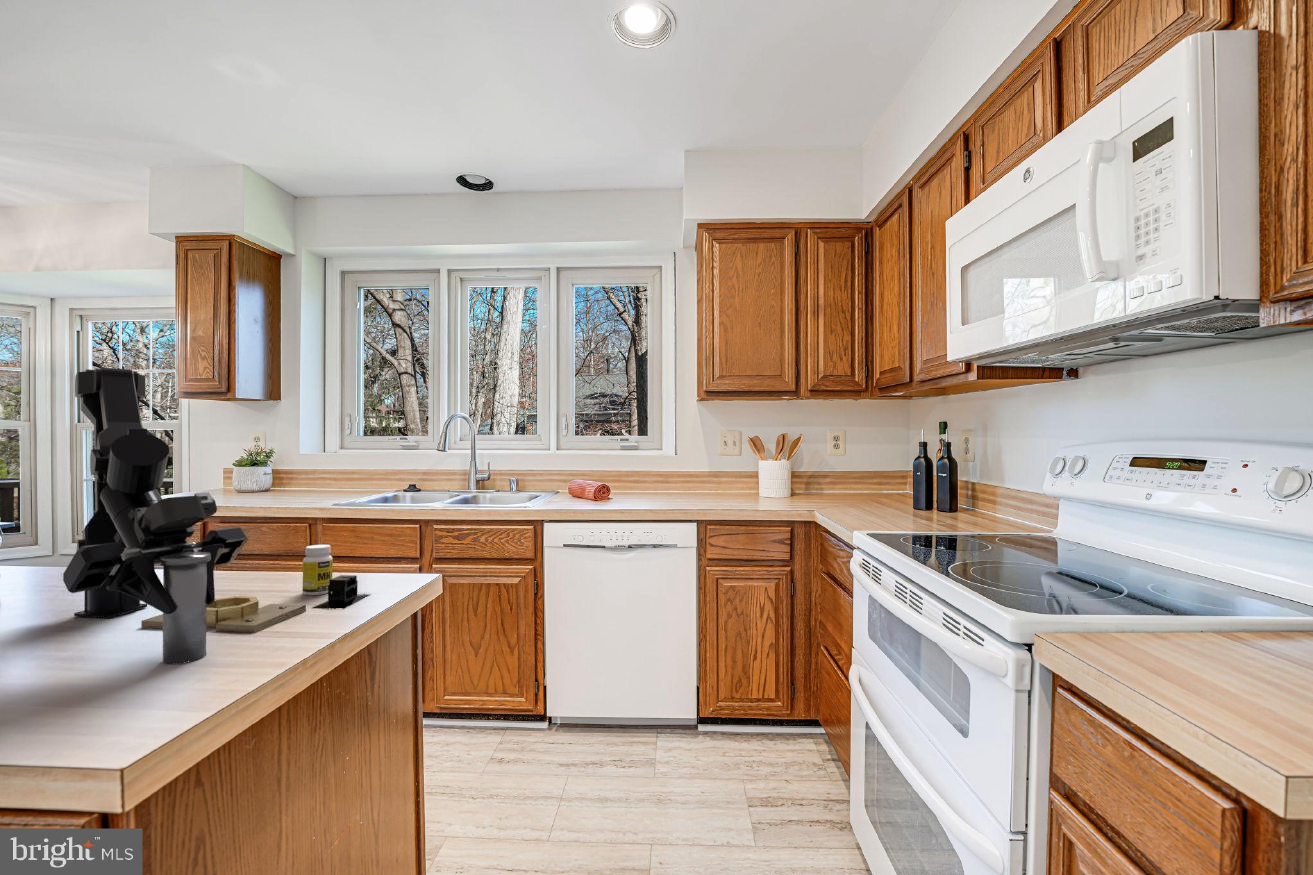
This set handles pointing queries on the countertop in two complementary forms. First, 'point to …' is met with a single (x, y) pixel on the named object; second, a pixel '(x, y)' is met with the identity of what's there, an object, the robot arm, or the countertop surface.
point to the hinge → (239, 614)
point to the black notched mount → (342, 592)
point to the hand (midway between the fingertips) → (191, 607)
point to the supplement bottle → (317, 569)
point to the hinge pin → (185, 606)
